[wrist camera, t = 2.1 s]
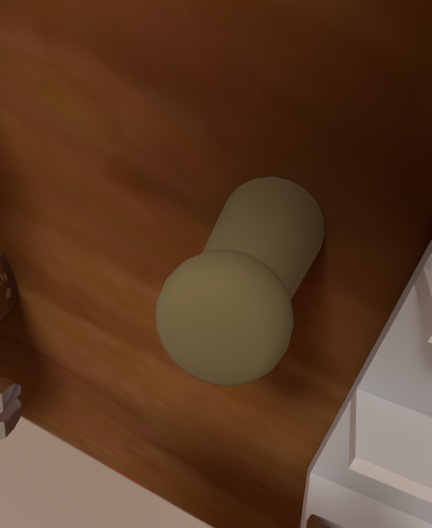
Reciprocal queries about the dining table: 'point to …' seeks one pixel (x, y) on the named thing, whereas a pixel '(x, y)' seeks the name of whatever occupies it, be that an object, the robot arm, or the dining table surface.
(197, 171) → the dining table surface
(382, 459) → the slot rack
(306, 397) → the dining table surface
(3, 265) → the food container
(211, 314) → the cork
